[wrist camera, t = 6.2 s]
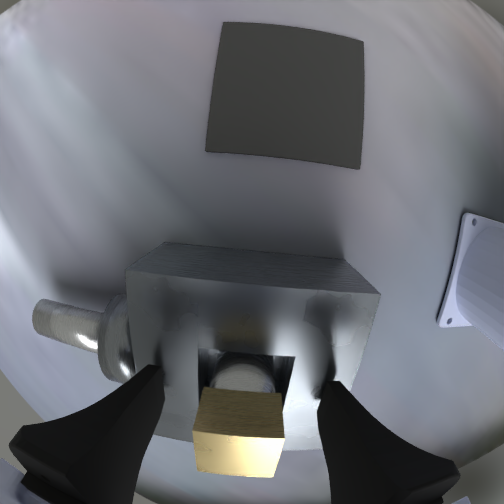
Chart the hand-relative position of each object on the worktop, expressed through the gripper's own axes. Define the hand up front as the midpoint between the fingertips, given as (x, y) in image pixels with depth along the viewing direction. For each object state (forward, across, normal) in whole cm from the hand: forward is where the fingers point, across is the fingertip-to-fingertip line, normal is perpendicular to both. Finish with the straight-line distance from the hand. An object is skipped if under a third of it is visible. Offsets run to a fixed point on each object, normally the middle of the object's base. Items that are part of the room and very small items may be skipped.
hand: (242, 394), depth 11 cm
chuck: (+5, +4, 0) cm, 7 cm away
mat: (+5, -1, -14) cm, 15 cm away
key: (+3, 0, 0) cm, 3 cm away
